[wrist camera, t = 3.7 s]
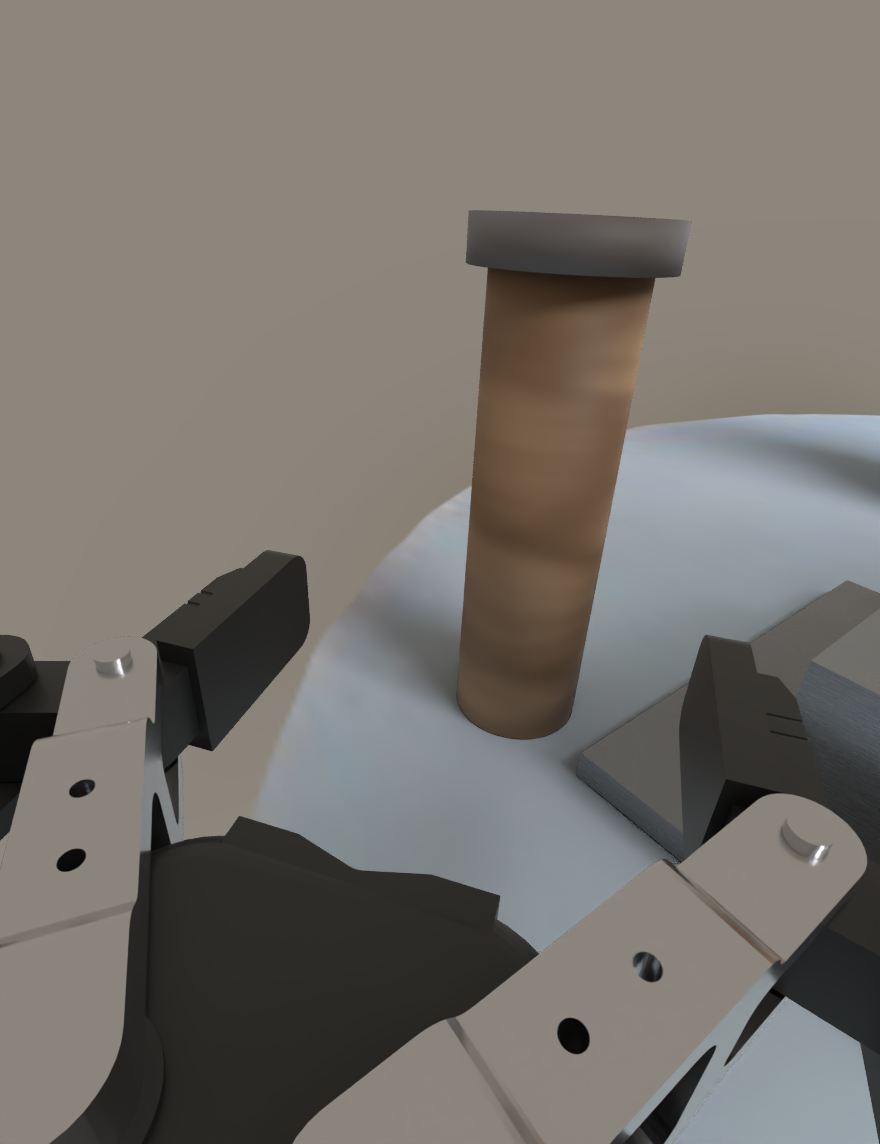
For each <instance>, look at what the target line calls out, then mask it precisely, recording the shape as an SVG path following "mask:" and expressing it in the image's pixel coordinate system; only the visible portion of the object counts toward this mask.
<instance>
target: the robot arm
mask: <svg viewBox="0 0 880 1144" xmlns="http://www.w3.org/2000/svg"><path fill="white" fill-rule="evenodd" d="M309 624H310V613H309V599H308V586H307V572H306V564H305V561H304V559H303V558H302V557H301V556H296V555H291V554H286V553H281V552H275V551H270V550H267V551H265V552H263V553H262V554H260V555H259V556H258V557H257V558H256V559H254V560H253V561H252V562H251V563H249V564H248V565H247V566H246V567H245V568H239V569H236V570H234V571H232V572H230V573H227V574H225V575H222V576H220V577H218V578H216V579H215V580H214V581H212V582H211V583H210V584H209V585H208V586H206V587H205V588H204V589H202V590H201V593H197V594H196V595H195V596H194V597H192V598H191V599H190V600H189V601H188V604H184V605H182V606H181V607H180V608H179V609H177V610H176V611H175V612H174V613H172V614H171V615H170V616H168V617H167V618H166V619H165V620H163V621H162V622H161V623H160V624H159V625H157V626H156V627H155V628H154V629H152V630H151V631H150V632H148V633H147V634H146V635H145V636H143V637H142V638H139V637H117V638H112V639H107V640H104V641H101V642H98V643H95V644H93V645H91V646H89V647H87V648H85V649H84V650H82V651H81V652H80V653H78V654H77V655H76V656H75V657H74V658H73V659H72V661H34V660H33V657H32V654H31V651H30V648H29V645H28V644H27V642H26V641H25V640H24V639H22V638H20V637H16V636H11V635H0V840H1V839H2V838H3V837H4V836H5V835H6V834H7V833H8V832H9V831H10V833H9V837H8V841H7V845H6V849H5V852H4V856H3V860H2V864H1V868H0V1144H673V1143H674V1141H675V1140H676V1139H677V1138H678V1136H679V1135H680V1134H681V1133H682V1131H683V1130H684V1129H685V1128H686V1126H687V1125H688V1124H689V1122H690V1121H691V1120H692V1118H693V1117H694V1116H695V1114H696V1113H697V1111H698V1110H699V1109H700V1107H701V1106H702V1104H703V1103H704V1101H705V1100H706V1098H707V1097H708V1095H709V1094H710V1093H711V1091H712V1090H713V1089H714V1087H715V1086H716V1085H717V1083H718V1082H719V1081H720V1080H721V1078H722V1077H723V1076H724V1075H725V1074H726V1072H727V1071H728V1070H729V1069H730V1068H731V1066H732V1065H733V1064H734V1063H735V1062H736V1061H737V1059H738V1058H739V1057H740V1056H741V1055H742V1053H743V1052H744V1051H745V1050H746V1049H747V1047H748V1046H749V1045H750V1044H751V1043H752V1041H753V1040H754V1039H755V1038H756V1037H757V1036H758V1034H759V1033H760V1032H761V1031H762V1030H763V1028H764V1027H765V1026H766V1025H767V1024H768V1022H769V1021H770V1020H771V1019H772V1018H773V1017H774V1015H775V1014H776V1013H777V1012H778V1011H779V1009H780V1008H781V1007H782V1006H783V1005H784V1003H785V1002H786V1001H787V1000H788V999H791V1000H792V1001H794V1002H795V1003H797V1004H799V1005H800V1006H802V1007H803V1008H805V1009H807V1010H808V1011H810V1012H812V1013H813V1014H815V1015H816V1016H818V1017H820V1018H821V1019H823V1020H824V1021H826V1022H828V1023H829V1024H831V1025H832V1026H834V1027H836V1028H837V1029H839V1030H841V1031H842V1032H844V1033H845V1034H847V1035H849V1036H850V1037H852V1038H853V1039H855V1040H857V1041H858V1042H860V1044H861V1049H862V1054H863V1060H864V1065H865V1070H866V1075H867V1081H868V1086H869V1091H870V1097H871V1102H872V1107H873V1112H874V1118H875V1123H876V1128H877V1134H878V1139H879V1144H880V867H879V866H878V865H876V864H874V863H873V862H871V861H870V860H869V859H867V855H866V852H865V848H864V846H863V844H862V842H861V840H860V839H859V837H858V836H857V835H856V833H855V832H854V831H853V830H852V828H851V827H850V826H849V825H848V824H847V823H846V822H845V821H843V820H842V819H841V818H840V817H839V816H837V815H836V814H835V813H833V812H832V811H830V810H829V809H828V805H827V802H826V798H825V795H824V791H823V788H822V785H821V781H820V778H819V774H818V771H817V768H816V764H815V761H814V757H813V754H812V751H811V747H810V744H809V743H807V741H808V737H807V733H806V730H805V727H804V725H802V721H803V720H802V716H801V713H800V710H799V706H798V703H797V699H796V698H795V697H794V695H793V694H792V693H791V692H790V691H789V690H788V688H787V687H786V686H785V685H784V684H783V683H782V681H781V680H780V679H779V678H778V677H775V676H770V675H765V674H760V673H757V670H756V665H755V661H754V656H753V652H752V647H751V645H750V644H749V643H746V642H741V641H736V640H730V639H725V638H720V637H715V636H710V635H705V636H704V638H703V640H702V642H701V645H700V648H699V652H698V655H697V658H696V661H695V665H694V668H693V671H692V675H691V678H690V681H689V685H688V688H687V691H686V694H685V698H684V701H683V705H682V710H681V716H680V724H679V748H680V772H681V797H682V821H683V846H684V861H683V862H682V863H681V864H679V865H677V866H674V865H673V864H672V863H670V862H669V861H668V860H666V859H663V860H659V861H657V862H655V863H654V864H652V865H651V866H649V867H648V868H647V869H646V870H644V871H643V872H642V873H641V874H639V875H638V876H637V877H635V878H634V879H633V880H632V881H630V882H629V883H628V884H627V885H625V886H624V887H623V888H622V889H620V890H619V891H618V892H617V893H615V894H614V895H613V896H612V897H610V898H609V899H608V900H607V901H605V902H604V903H603V904H602V905H600V906H599V907H598V908H597V909H595V910H594V911H593V912H592V913H590V914H589V915H588V916H587V917H585V918H584V919H583V920H582V921H580V922H579V923H578V924H576V925H575V926H574V927H573V928H571V929H570V930H569V931H568V932H566V933H565V934H564V935H563V936H561V937H560V938H559V939H558V940H556V941H555V942H554V943H553V944H551V945H550V946H549V947H548V948H546V949H545V950H544V951H543V952H541V953H540V954H539V953H538V952H537V951H536V950H535V949H534V948H533V947H532V946H531V945H530V944H529V943H528V942H527V941H526V940H524V939H523V938H522V937H521V936H519V935H518V934H517V933H516V932H514V931H513V930H512V929H511V928H509V927H508V926H506V925H505V924H503V923H501V922H500V921H498V920H497V915H498V908H499V901H500V896H499V895H496V894H493V893H489V892H486V891H483V890H480V889H476V888H473V887H470V886H467V885H463V884H460V883H457V882H454V881H450V880H447V879H444V878H440V877H437V876H434V875H429V874H412V873H395V872H377V871H362V870H357V869H353V868H351V867H349V866H348V865H346V864H345V863H343V862H342V861H340V860H338V859H337V858H335V857H334V856H332V855H331V854H329V853H327V852H326V851H324V850H323V849H321V848H320V847H318V846H316V845H315V844H313V843H312V842H310V841H309V840H307V839H305V838H304V837H302V836H301V835H299V834H297V833H293V832H290V831H287V830H284V829H280V828H277V827H274V826H271V825H267V824H264V823H261V822H257V821H254V820H251V819H248V818H244V817H241V816H239V817H238V818H237V820H236V821H235V823H234V824H233V826H232V827H231V828H230V830H229V831H228V833H227V834H226V835H225V836H211V837H210V836H209V837H200V838H194V839H188V840H184V824H183V823H184V822H183V770H182V761H181V756H180V753H181V752H182V751H183V750H184V749H185V748H186V747H187V746H188V745H192V746H195V747H199V748H202V749H206V750H209V751H213V750H214V749H215V748H216V747H217V745H218V744H219V743H220V742H221V741H222V740H223V738H224V737H225V736H226V735H227V734H228V733H229V731H230V730H231V729H232V728H233V727H234V725H235V724H236V723H237V722H238V721H239V719H240V718H241V717H242V716H243V715H244V714H245V712H246V711H247V710H248V709H249V708H250V707H251V705H252V704H253V703H254V702H255V701H256V700H257V698H258V697H259V696H260V695H261V694H262V693H263V691H264V690H265V689H266V688H267V687H268V685H269V684H270V683H271V682H272V681H273V679H274V678H275V677H276V676H277V675H278V674H279V673H280V671H281V670H282V669H283V668H284V667H285V665H286V664H287V663H288V662H289V661H290V660H291V658H292V657H293V656H294V655H295V654H296V652H297V651H298V650H299V649H300V648H301V646H302V645H303V643H304V641H305V639H306V637H307V634H308V630H309Z"/></svg>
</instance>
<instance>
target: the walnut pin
mask: <svg viewBox="0 0 880 1144" xmlns="http://www.w3.org/2000/svg"><path fill="white" fill-rule="evenodd" d="M691 223H692V221H685V220H671V219H656V218H639V217H621V216H602V215H581V214H561V213H560V214H559V213H538V212H513V211H477V210H473V211H469V217H468V234H467V251H466V263H467V264H470V265H475V266H481V267H488V274H487V275H488V276H487V288H486V301H485V315H484V328H483V329H484V330H483V342H482V356H481V369H480V384H479V396H478V410H477V424H476V438H475V451H474V464H473V478H472V492H471V505H470V519H469V533H468V546H467V560H466V573H465V587H464V601H463V614H462V628H461V642H460V655H459V669H458V682H457V701H458V704H459V707H460V709H461V710H462V712H463V713H464V715H465V716H466V717H467V718H468V719H469V720H470V721H471V722H473V723H474V724H475V725H477V726H478V727H480V728H482V729H483V730H485V731H488V732H490V733H493V734H495V735H498V736H502V737H507V738H513V739H533V738H539V737H544V736H547V735H549V734H552V733H554V732H556V731H557V730H559V729H560V728H562V727H563V726H564V725H565V724H566V723H567V721H568V720H569V718H570V716H571V713H572V708H573V703H574V698H575V692H576V687H577V682H578V677H579V672H580V666H581V661H582V656H583V651H584V646H585V641H586V635H587V630H588V625H589V620H590V615H591V609H592V604H593V599H594V594H595V589H596V583H597V578H598V573H599V568H600V563H601V557H602V552H603V547H604V542H605V537H606V531H607V526H608V521H609V516H610V511H611V505H612V500H613V495H614V490H615V485H616V479H617V474H618V469H619V464H620V459H621V454H622V448H623V443H624V438H625V433H626V428H627V422H628V417H629V412H630V406H631V401H632V396H633V391H634V386H635V381H636V376H637V370H638V365H639V360H640V355H641V350H642V344H643V339H644V334H645V329H646V324H647V318H648V313H649V308H650V303H651V298H652V293H653V287H654V282H655V278H664V277H665V278H666V277H678V276H680V275H681V270H682V266H683V261H684V256H685V251H686V246H687V242H688V237H689V232H690V227H691Z"/></svg>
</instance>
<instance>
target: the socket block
mask: <svg viewBox="0 0 880 1144" xmlns="http://www.w3.org/2000/svg"><path fill="white" fill-rule="evenodd" d="M750 645H751V647H752V652H753V656H754V661H755V665H756V670H757V673H760V674H765V675H770V676H775V677H778V678H779V679H780V680H781V681H782V683H783V684H784V685H785V686H786V687H787V688H788V690H789V691H790V692H791V693H792V694H793V695H794V697H795V698H796V699H797V703H798V706H799V710H800V713H801V716H802V720H803V721H802V725H804V727H805V730H806V733H807V737H808V741H807V743H809V744H810V747H811V751H812V754H813V757H814V761H815V764H816V768H817V771H818V774H819V778H820V781H821V785H822V788H823V791H824V795H825V798H826V802H827V805H828V809H829V810H830V811H832V812H833V813H835V814H836V815H837V816H839V817H840V818H841V819H842V820H843V821H845V822H846V823H847V824H848V825H849V826H850V827H851V828H852V830H853V831H854V832H855V833H856V835H857V836H858V837H859V839H860V840H861V842H862V844H863V846H864V848H865V852H866V855H867V859H869V860H870V861H871V862H873V863H874V864H876V865H878V866H879V867H880V593H877V592H875V591H872V590H870V589H867V588H865V587H862V586H860V585H857V584H855V583H852V582H850V581H845V582H844V583H842V584H841V585H839V586H838V587H836V588H835V589H833V590H832V591H830V592H829V593H827V594H825V595H824V596H822V597H821V598H819V599H818V600H816V601H815V602H813V603H812V604H810V605H808V606H807V607H805V608H804V609H802V610H801V611H799V612H798V613H796V614H795V615H793V616H791V617H790V618H788V619H787V620H785V621H784V622H782V623H781V624H779V625H778V626H776V627H775V628H773V629H771V630H770V631H768V632H767V633H765V634H764V635H762V636H761V637H759V638H758V639H756V640H754V641H753V642H751V643H750ZM688 685H689V683H688V684H687V685H685V686H684V687H682V688H680V689H679V690H677V691H676V692H674V693H673V694H671V695H670V696H668V697H667V698H665V699H663V700H662V701H660V702H659V703H657V704H656V705H654V706H653V707H651V708H650V709H648V710H647V711H645V712H643V713H642V714H640V715H639V716H637V717H636V718H634V719H633V720H631V721H630V722H628V723H626V724H625V725H623V726H622V727H620V728H619V729H617V730H616V731H614V732H613V733H611V734H609V735H608V736H606V737H605V738H603V739H602V740H600V741H599V742H597V743H596V744H594V745H593V746H591V747H589V748H588V749H586V750H585V751H583V752H582V753H581V756H580V761H579V765H578V770H577V776H578V777H579V778H581V779H582V780H583V781H584V782H586V783H587V784H588V785H589V786H590V787H592V788H593V789H594V790H595V791H596V792H598V793H599V794H600V795H601V796H602V797H604V798H605V799H606V800H607V801H608V802H610V803H611V804H612V805H613V806H615V807H616V808H617V809H618V810H619V811H621V812H622V813H623V814H624V815H625V816H627V817H628V818H629V819H630V820H631V821H633V822H634V823H635V824H636V825H638V826H639V827H640V828H641V829H642V830H644V831H645V832H646V833H647V834H648V835H650V836H651V837H652V838H653V839H654V840H656V841H657V842H658V843H659V844H660V845H662V846H663V847H664V848H665V849H667V850H668V851H669V852H670V853H671V854H673V855H674V856H675V857H676V858H677V859H679V860H680V861H681V862H683V861H684V846H683V821H682V797H681V772H680V748H679V724H680V716H681V710H682V705H683V701H684V698H685V694H686V691H687V688H688Z"/></svg>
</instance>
